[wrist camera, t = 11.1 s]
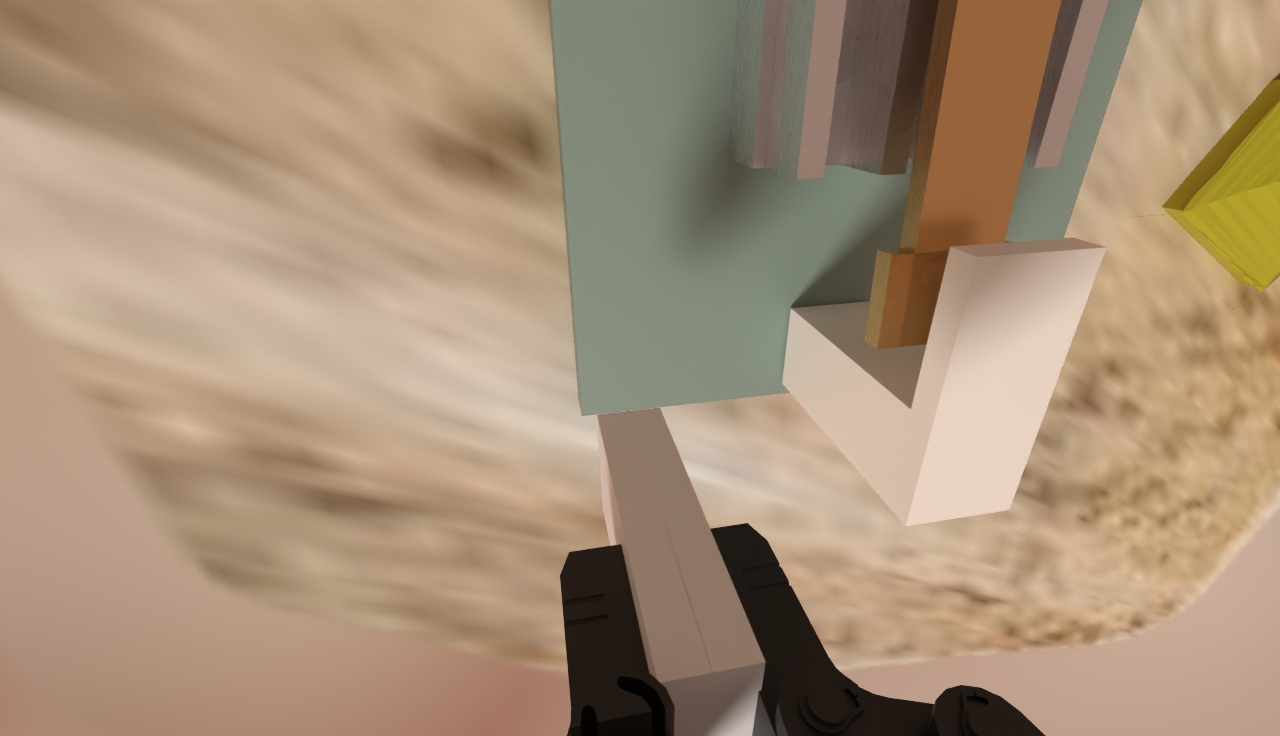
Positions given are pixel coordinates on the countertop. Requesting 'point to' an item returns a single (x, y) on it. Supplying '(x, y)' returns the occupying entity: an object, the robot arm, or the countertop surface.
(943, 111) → the strap
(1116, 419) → the countertop surface
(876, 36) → the heatsink
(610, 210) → the board
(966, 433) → the cream l-shaped bracket
